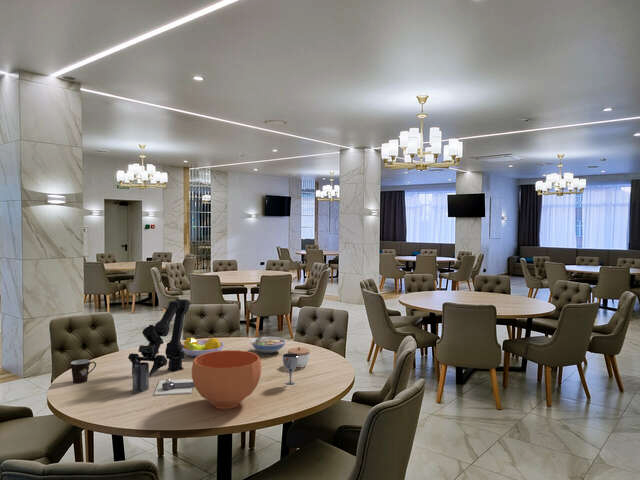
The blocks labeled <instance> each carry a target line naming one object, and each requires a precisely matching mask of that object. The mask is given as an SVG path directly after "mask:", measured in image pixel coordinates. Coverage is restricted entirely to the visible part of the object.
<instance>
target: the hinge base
mask: <svg viewBox="0 0 640 480" xmlns="http://www.w3.org/2000/svg"><path fill="white" fill-rule="evenodd" d="M193 388H195V386H194V383H193V379H192V378H184V379H182V378H181V379H171V378H169V377H168V378H167V379H166V380H165V379H164V380H159V381H158V384H157V386H156V389H155V391H154V393H153V396H168V395H186V394H193V393H192V392H193Z"/></svg>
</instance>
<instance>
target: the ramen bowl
mask: <svg viewBox="0 0 640 480" xmlns="http://www.w3.org/2000/svg"><path fill="white" fill-rule="evenodd" d="M286 342H287V340H286V339H284V338H282V337H278V336H263V334H261V335H260V334H259V335H258V337H256V338H253V339H251V340H250V343H251V345H252V347H253V348H254V350H256V351H258V352H261V353H263V354H267V353H270V354H274V353H276V352H279V350H281V349H282V348H283V347H284V346H285V345H286ZM273 352H274V353H273Z"/></svg>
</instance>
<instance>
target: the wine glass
mask: <svg viewBox="0 0 640 480" xmlns="http://www.w3.org/2000/svg"><path fill="white" fill-rule="evenodd" d="M282 363H283V367H284V368H285V369H286V371H287V372H288V374H289V381H288V383H287V382H284V383H285V384H286V385H294V384H295V383H296V382H294V381H292V375H293V372H294V370H296V367H297V365H298V354H295V353H288V352H287V353H286V352H285V353H284V354H282ZM293 382H294V383H293Z"/></svg>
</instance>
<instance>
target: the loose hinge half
mask: <svg viewBox="0 0 640 480" xmlns="http://www.w3.org/2000/svg"><path fill="white" fill-rule="evenodd" d="M149 365H150V363H149V361H141V362H140V363H137V364H135V368H133V375H132V395H135V394H136V393H138V392H147V391H148V390H149V388H150V387H149V386H150V385H149V384H150V380H149V378H150V376H149V374H150V372H149V371H150V366H149Z"/></svg>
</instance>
